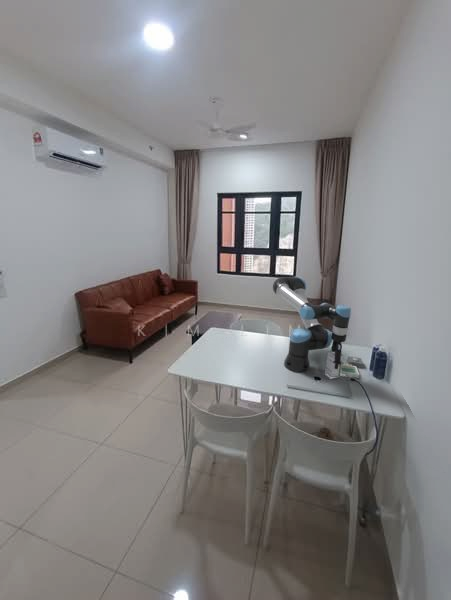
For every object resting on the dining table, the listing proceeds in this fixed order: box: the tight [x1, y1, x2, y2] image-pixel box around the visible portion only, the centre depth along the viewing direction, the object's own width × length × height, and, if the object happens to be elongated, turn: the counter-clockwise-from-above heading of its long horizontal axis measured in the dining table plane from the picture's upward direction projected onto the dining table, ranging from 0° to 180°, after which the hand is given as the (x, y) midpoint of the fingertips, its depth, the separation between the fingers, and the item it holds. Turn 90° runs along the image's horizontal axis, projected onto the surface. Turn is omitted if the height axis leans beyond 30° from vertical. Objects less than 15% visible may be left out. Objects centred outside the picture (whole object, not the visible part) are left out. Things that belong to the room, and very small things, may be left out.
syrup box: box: [324, 351, 344, 377], centre depth 155 cm, size 6×6×14 cm
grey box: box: [346, 355, 364, 371], centre depth 170 cm, size 8×13×4 cm, turn 165°
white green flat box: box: [340, 362, 360, 380], centre depth 162 cm, size 10×13×3 cm
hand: (333, 367), depth 155 cm, fingers open, 13 cm apart
